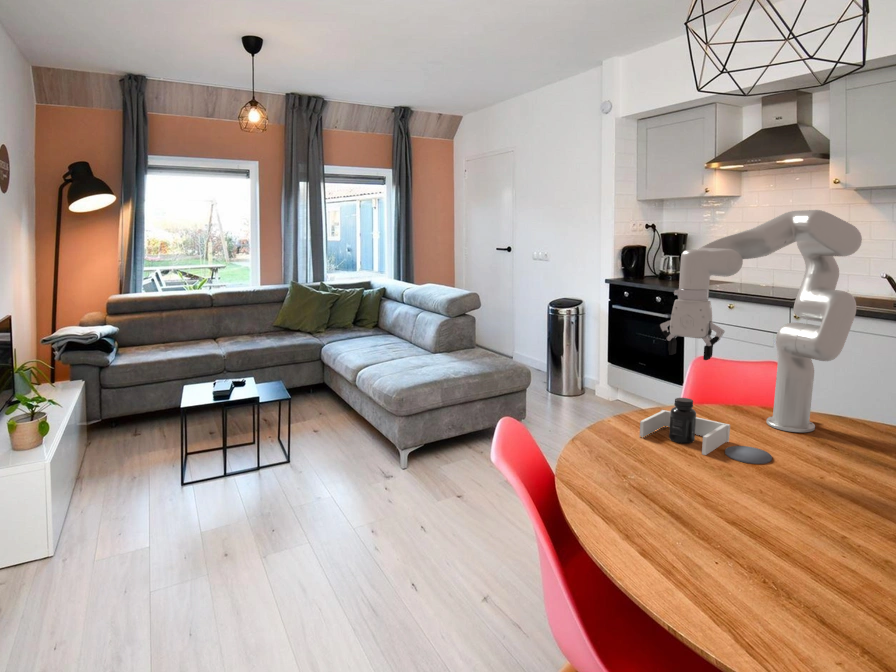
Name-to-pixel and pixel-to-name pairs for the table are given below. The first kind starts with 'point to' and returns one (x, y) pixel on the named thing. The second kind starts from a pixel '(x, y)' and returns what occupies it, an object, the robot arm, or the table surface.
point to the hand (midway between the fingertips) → (689, 356)
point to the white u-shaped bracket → (708, 429)
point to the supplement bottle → (682, 421)
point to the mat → (748, 454)
